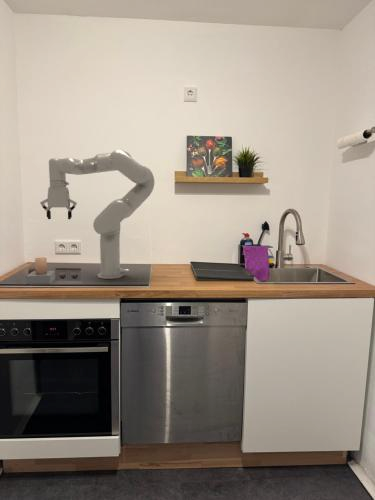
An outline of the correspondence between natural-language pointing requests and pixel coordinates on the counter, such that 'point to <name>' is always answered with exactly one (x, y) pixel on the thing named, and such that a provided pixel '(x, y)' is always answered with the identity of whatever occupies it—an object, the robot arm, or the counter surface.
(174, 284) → the counter surface
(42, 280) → the block
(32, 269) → the walnut cube
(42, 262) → the terracotta cylinder
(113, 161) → the robot arm
